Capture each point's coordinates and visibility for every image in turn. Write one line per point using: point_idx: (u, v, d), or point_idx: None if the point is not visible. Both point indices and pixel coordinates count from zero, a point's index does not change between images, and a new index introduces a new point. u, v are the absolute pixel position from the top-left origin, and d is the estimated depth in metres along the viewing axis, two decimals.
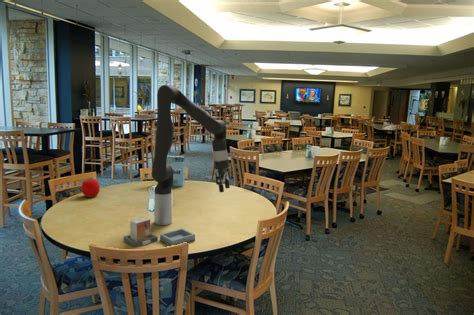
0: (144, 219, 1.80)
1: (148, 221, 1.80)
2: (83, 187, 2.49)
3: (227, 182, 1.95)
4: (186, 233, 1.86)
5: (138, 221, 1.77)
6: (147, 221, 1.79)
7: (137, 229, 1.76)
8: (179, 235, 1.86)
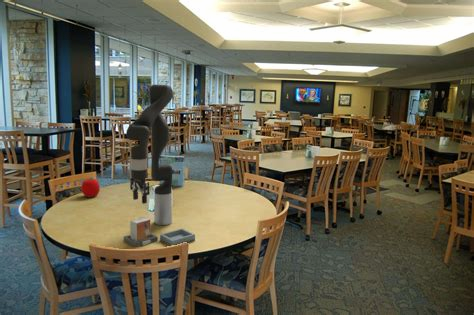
0: (144, 219, 1.80)
1: (148, 221, 1.80)
2: (83, 187, 2.49)
3: None
4: (186, 233, 1.86)
5: (138, 221, 1.77)
6: (147, 221, 1.79)
7: (137, 229, 1.76)
8: (179, 235, 1.86)
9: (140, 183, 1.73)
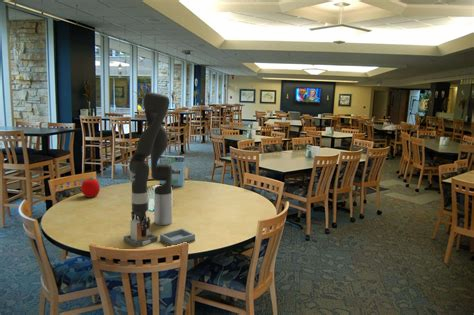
0: None
1: None
2: (83, 187, 2.49)
3: None
4: (186, 233, 1.86)
5: (138, 221, 1.77)
6: None
7: (137, 229, 1.76)
8: (179, 235, 1.86)
9: (141, 217, 1.76)
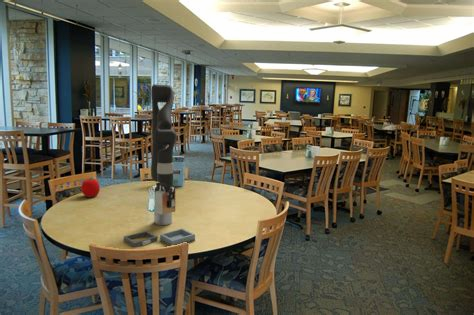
0: None
1: None
2: (83, 187, 2.49)
3: None
4: (186, 233, 1.86)
5: (163, 192, 1.76)
6: None
7: (162, 199, 1.74)
8: (179, 235, 1.86)
9: (166, 187, 1.74)
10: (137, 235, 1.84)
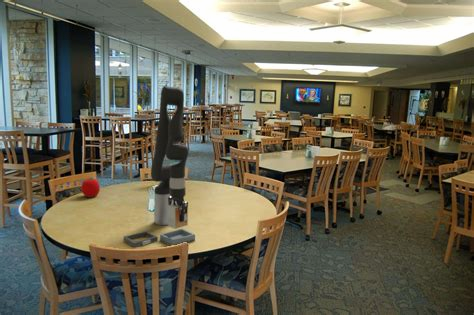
0: None
1: None
2: (83, 187, 2.49)
3: None
4: (186, 233, 1.86)
5: (176, 206, 1.77)
6: None
7: (175, 214, 1.76)
8: (179, 235, 1.86)
9: (179, 202, 1.76)
10: (137, 235, 1.84)
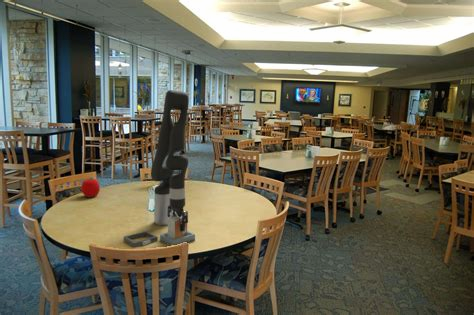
0: None
1: (185, 219, 1.81)
2: (83, 187, 2.49)
3: None
4: None
5: (176, 219, 1.79)
6: None
7: (175, 227, 1.77)
8: None
9: (179, 212, 1.77)
10: (137, 235, 1.84)
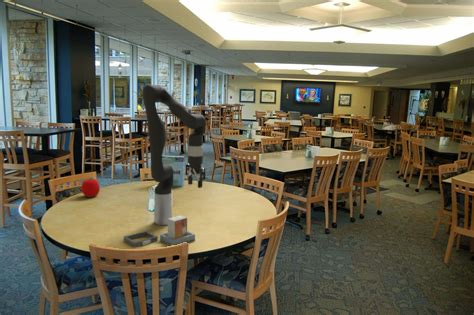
0: (181, 217, 1.82)
1: (185, 219, 1.81)
2: (83, 187, 2.49)
3: None
4: None
5: (176, 219, 1.79)
6: (184, 220, 1.81)
7: (175, 227, 1.77)
8: None
9: (196, 168, 1.84)
10: (137, 235, 1.84)
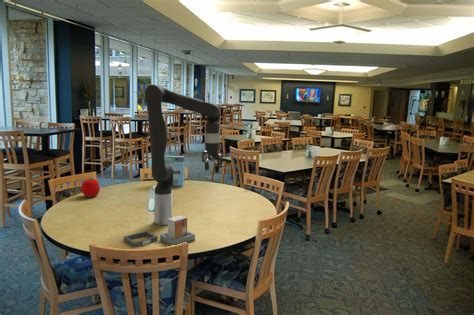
0: (181, 217, 1.82)
1: (185, 219, 1.81)
2: (83, 187, 2.49)
3: None
4: None
5: (176, 219, 1.79)
6: (184, 220, 1.81)
7: (175, 227, 1.77)
8: None
9: (214, 155, 1.95)
10: (137, 235, 1.84)
